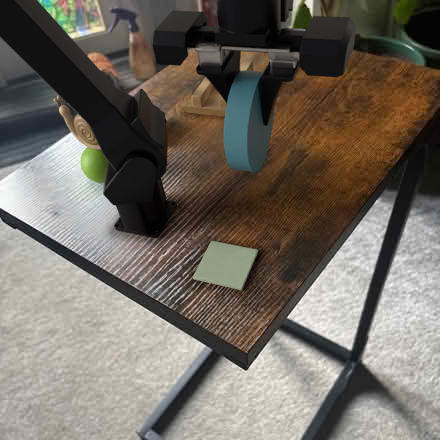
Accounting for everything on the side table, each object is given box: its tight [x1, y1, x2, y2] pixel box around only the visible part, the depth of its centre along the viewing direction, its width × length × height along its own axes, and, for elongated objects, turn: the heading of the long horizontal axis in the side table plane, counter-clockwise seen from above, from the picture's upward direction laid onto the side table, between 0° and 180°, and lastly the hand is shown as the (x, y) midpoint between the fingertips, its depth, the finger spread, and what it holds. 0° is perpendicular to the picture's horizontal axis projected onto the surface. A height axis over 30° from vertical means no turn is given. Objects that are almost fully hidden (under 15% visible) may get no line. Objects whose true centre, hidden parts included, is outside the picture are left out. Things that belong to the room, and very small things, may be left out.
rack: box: [185, 59, 254, 118], centre depth 75 cm, size 12×9×3 cm
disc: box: [223, 70, 275, 173], centre depth 49 cm, size 10×2×10 cm
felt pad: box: [192, 240, 259, 291], centre depth 54 cm, size 6×6×1 cm
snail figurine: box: [53, 94, 108, 184], centre depth 62 cm, size 5×6×12 cm
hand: (254, 122), depth 50 cm, fingers closed on disc, 2 cm apart
